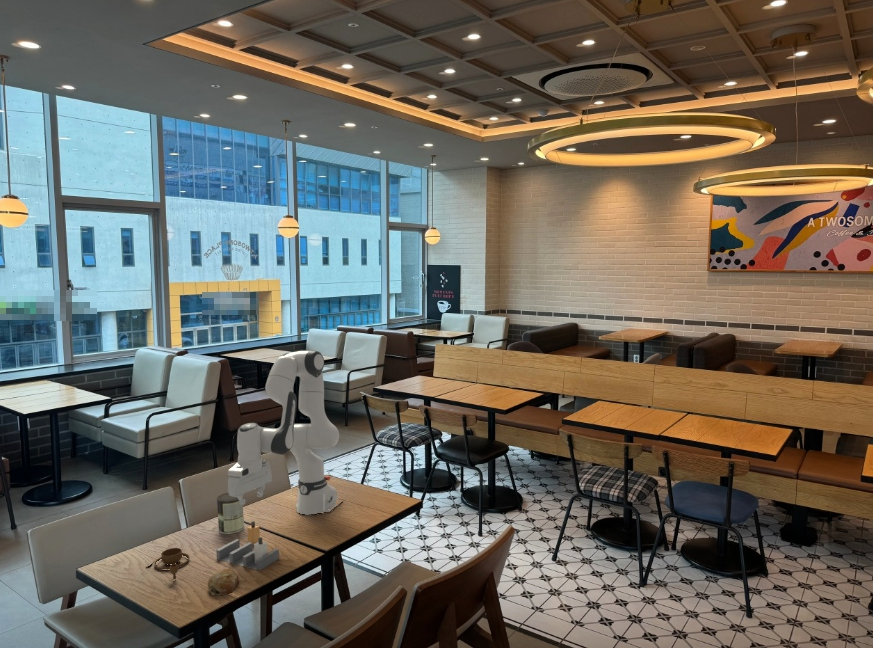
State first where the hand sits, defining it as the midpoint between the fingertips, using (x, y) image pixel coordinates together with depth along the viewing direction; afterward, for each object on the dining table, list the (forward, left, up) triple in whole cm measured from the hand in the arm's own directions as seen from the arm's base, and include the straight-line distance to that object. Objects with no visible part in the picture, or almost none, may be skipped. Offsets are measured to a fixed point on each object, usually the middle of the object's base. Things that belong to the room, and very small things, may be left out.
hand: (251, 500), depth 238 cm
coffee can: (-7, -19, -18) cm, 27 cm away
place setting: (+28, -15, -18) cm, 37 cm away
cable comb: (+12, +8, -18) cm, 23 cm away
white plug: (+12, +15, -17) cm, 25 cm away
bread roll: (+30, +15, -18) cm, 38 cm away
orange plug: (0, 0, -18) cm, 18 cm away
